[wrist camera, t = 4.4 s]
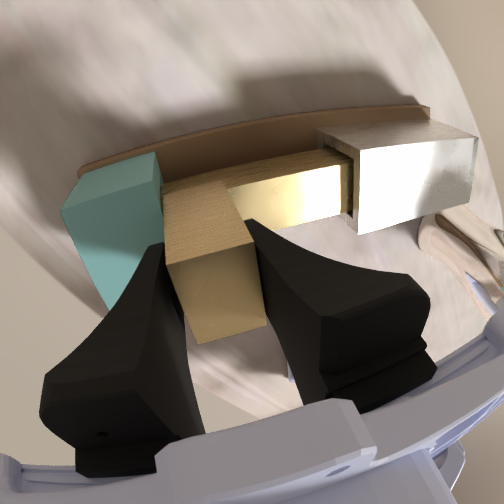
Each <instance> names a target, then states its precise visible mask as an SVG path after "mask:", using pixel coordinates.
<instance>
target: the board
mask: <svg viewBox="0 0 504 504" xmlns="http://www.w3.org/2000/svg"><path fill="white" fill-rule="evenodd" d="M429 118H430V107H427V106H423V105H387V106H368V107H354V108H342V109H332V110H322V111H314V112H306V113H298V114H291V115H284V116H277V117H271V118H265V119H259V120H254V121H248V122H243V123H237V124H232V125H227V126H223V127H218V128H213V129H209V130H204V131H200V132H196V133H192V134H188V135H183V136H179V137H176V138H172V139H168V140H164V141H161V142H157V143H153V144H150V145H146V146H143V147H140V148H136V149H133V150H130V151H126V152H123V153H120V154H117V155H114V156H111V157H108V158H105V159H102V160H99V161H96V162H93V163H90V164H87V165H85V166H82V167H81V168H80V169H79V171H78V172H77V173H78V176H79V179H80V178H81V177H82V175H83V174H85V173H87V172H90V171H93V170H96V169H99V168H102V167H105V166H108V165H111V164H114V163H117V162H120V161H123V160H127V159H130V158H133V157H136V156H140V155H143V154H147V153H150V152H154V151H155V153H156V157H157V161H158V165H159V168H160V172H161V176H162V179H163V183H164V184H165V183H169V182H172V181H176V180H180V179H183V178H187V177H191V176H195V175H199V174H203V173H207V172H211V171H215V170H219V169H224V168H228V167H232V166H237V165H241V164H246V163H250V162H255V161H260V160H265V159H270V158H274V157H280V156H285V155H290V154H295V153H301V152H306V151H312V150H318V146H317V131H316V129H317V128H325V127H332V126H340V125H349V124H358V123H368V122H379V121H392V120H407V119H429Z"/></svg>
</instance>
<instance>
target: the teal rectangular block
mask: <svg viewBox="0 0 504 504" xmlns="http://www.w3.org/2000/svg"><path fill="white" fill-rule="evenodd" d="M161 184H164V183H163V179H162V176H161V172H160V168H159V165H158V161H157V157H156V153H155V151H154V152H150V153H147V154H143V155H140V156H136V157H133V158H130V159H127V160H123V161H120V162H117V163H114V164H111V165H108V166H105V167H102V168H99V169H96V170H93V171H90V172H87V173H85V174H83V175H82V177H81V178H80V180H79V181H78V183H77V184H76V186H75V187H74V189H73V190H72V192H71V193H70V195H69V196H68V198H67V199H66V201H65V203H64V204H63V206H62V207H61V209H60V213H61V216H62V218H63V220H64V223H65V225H66V227H67V229H68V232H69V234H70V236H71V238H72V240H73V242H74V245H75V247H76V249H77V251H78V253H79V255H80V257H81V259H82V261H83V263H84V265H85V267H86V269H87V271H88V273H89V275H90V277H91V279H92V281H93V283H94V284H95V286H96V288H97V290H98V292H99V294H100V295H101V297H102V299H103V301H104V303H105V304H106V306H107V308H108V310H109V311H110V310H111V309H112V307H113V306H114V305H115V303H116V302H117V300H118V299H119V297H120V296H121V294H122V292H123V291H124V289H125V287H126V286H127V284H128V283H129V281H130V279H131V277H132V275H133V274H134V272H135V270H136V268H137V266H138V264H139V262H140V260H141V259H142V257H143V255H144V253H145V251H146V249H147V247H148V246H150V245H153V244H157V243H161V242H164V243H165V237H164V213H163V210H162V207H161V204H160V185H161Z"/></svg>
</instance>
